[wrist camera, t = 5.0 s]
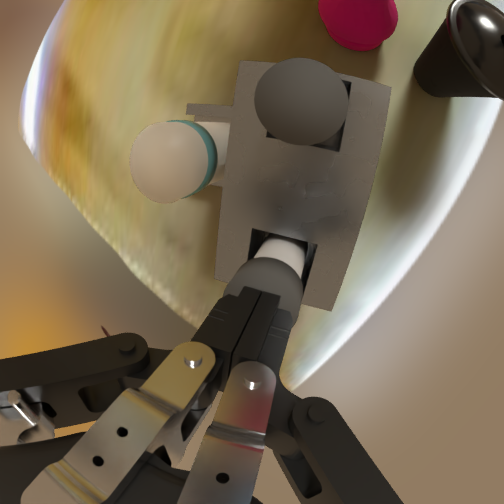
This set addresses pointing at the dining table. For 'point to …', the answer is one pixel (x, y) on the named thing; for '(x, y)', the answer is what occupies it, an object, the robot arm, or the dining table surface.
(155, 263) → the dining table surface
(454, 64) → the drinking cup
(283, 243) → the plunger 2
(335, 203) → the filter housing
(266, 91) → the plunger
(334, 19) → the pepper mill
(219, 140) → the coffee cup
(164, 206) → the dining table surface
